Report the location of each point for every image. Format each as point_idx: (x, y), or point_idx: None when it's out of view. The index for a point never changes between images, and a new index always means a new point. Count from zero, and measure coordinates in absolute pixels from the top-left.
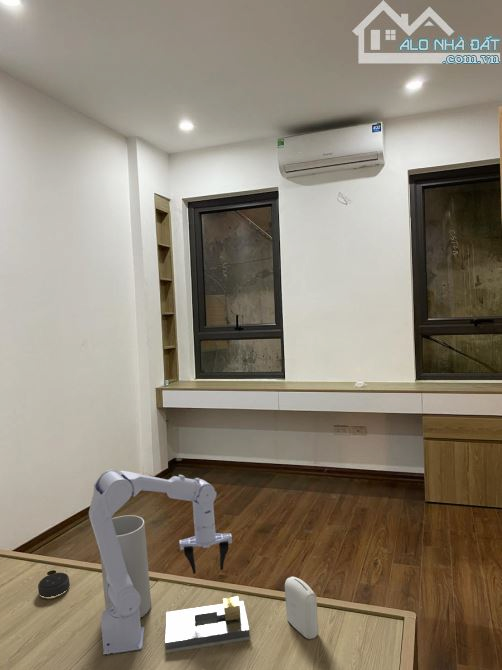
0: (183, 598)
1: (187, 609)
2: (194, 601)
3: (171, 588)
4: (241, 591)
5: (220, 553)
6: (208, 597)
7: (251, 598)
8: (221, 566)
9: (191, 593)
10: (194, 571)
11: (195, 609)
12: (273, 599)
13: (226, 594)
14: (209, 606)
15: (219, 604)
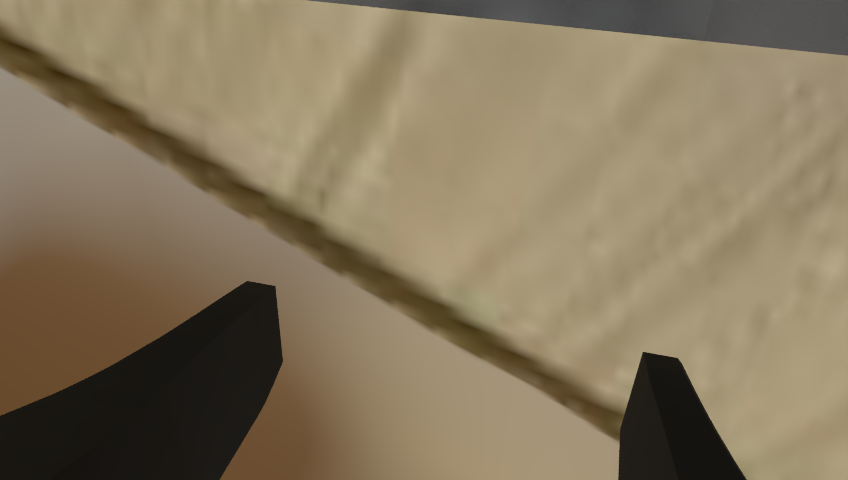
0: (716, 300)
1: (789, 38)
2: (636, 232)
3: (771, 437)
4: (254, 209)
5: (64, 465)
6: (511, 236)
7: (180, 101)
8: (232, 305)
9: (634, 329)
10: (663, 374)
11: (699, 8)
12: (14, 28)
13: (367, 218)
14: (535, 9)
15: (427, 8)
